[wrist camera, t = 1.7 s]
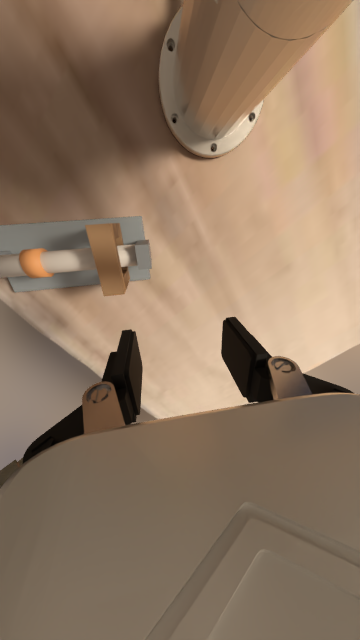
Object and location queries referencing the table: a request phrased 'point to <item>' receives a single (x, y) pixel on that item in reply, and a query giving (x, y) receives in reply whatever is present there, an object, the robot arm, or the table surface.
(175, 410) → the table surface
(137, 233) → the pipe stand
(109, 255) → the collar
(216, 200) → the table surface
